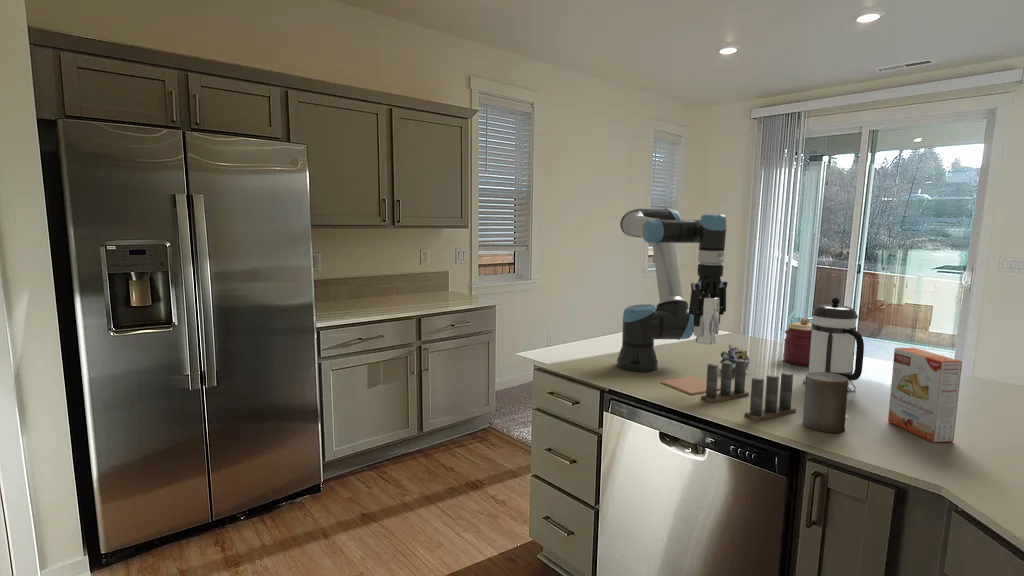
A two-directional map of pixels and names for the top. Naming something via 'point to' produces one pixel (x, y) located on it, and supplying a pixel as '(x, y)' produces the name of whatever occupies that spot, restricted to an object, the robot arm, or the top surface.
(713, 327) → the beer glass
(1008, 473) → the top surface
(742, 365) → the rack
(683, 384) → the tile pad
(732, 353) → the passion flower
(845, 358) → the coffee press
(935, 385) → the cracker box
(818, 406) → the pillar candle
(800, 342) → the canister
